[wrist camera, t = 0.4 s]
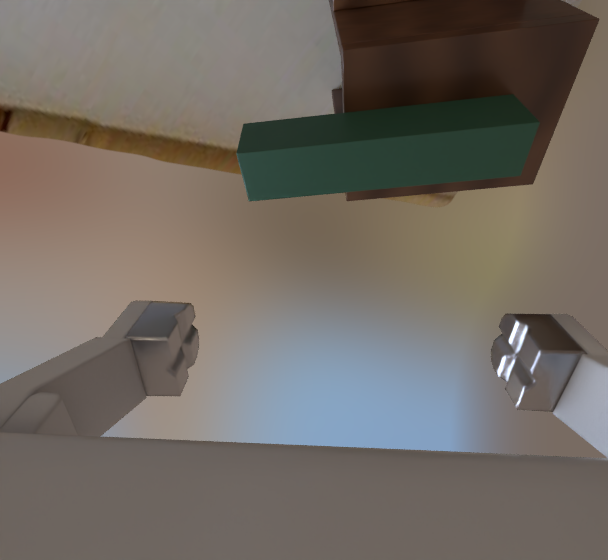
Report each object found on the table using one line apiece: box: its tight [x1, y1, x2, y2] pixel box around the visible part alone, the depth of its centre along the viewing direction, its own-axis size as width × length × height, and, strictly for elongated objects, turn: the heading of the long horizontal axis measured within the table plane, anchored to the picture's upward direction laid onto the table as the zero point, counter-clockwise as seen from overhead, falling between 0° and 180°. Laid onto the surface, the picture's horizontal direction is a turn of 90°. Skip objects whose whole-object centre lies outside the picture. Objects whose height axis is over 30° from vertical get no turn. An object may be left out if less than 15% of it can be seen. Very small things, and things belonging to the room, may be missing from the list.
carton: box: [237, 94, 540, 201], centre depth 30 cm, size 22×4×5 cm, turn 96°
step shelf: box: [329, 0, 599, 201], centre depth 36 cm, size 18×26×26 cm
